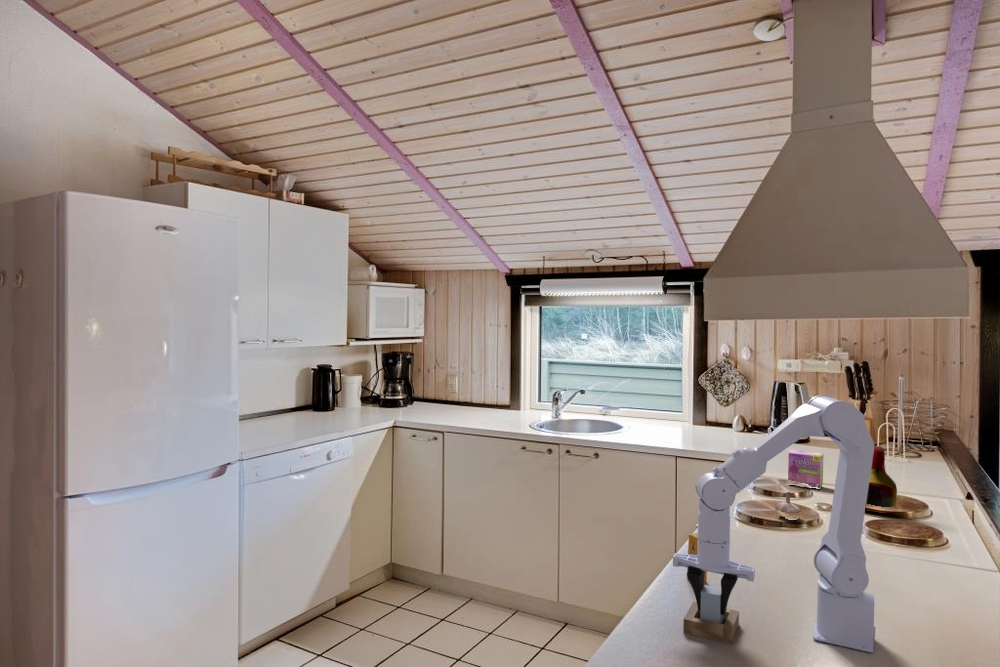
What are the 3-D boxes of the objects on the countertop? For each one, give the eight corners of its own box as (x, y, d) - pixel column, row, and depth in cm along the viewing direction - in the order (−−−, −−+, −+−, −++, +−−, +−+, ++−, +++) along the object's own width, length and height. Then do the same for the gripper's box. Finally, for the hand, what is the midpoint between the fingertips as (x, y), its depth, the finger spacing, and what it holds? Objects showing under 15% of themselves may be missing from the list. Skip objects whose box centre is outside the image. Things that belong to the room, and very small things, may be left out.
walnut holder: (738, 624, 124) (739, 611, 124) (731, 643, 116) (731, 630, 116) (693, 613, 128) (693, 601, 128) (683, 632, 120) (683, 618, 120)
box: (787, 485, 227) (788, 452, 227) (790, 482, 232) (791, 449, 231) (820, 490, 221) (821, 456, 221) (822, 487, 226) (823, 453, 225)
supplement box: (708, 581, 143) (709, 536, 143) (696, 584, 142) (697, 538, 142) (698, 576, 146) (699, 532, 146) (685, 578, 145) (686, 534, 145)
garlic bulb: (775, 513, 194) (776, 487, 194) (802, 517, 191) (803, 490, 191) (774, 520, 188) (774, 493, 187) (802, 524, 184) (802, 496, 184)
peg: (722, 620, 123) (723, 588, 123) (719, 627, 120) (720, 595, 119) (703, 615, 124) (704, 584, 124) (700, 623, 121) (700, 591, 121)
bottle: (897, 513, 196) (899, 447, 196) (894, 518, 191) (896, 450, 191) (853, 505, 204) (855, 442, 203) (848, 510, 199) (850, 445, 198)
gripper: (757, 539, 122) (755, 610, 122) (679, 526, 128) (677, 593, 129) (752, 550, 115) (750, 626, 116) (670, 536, 122) (669, 607, 123)
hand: (711, 610), depth 122 cm, fingers closed on peg, 3 cm apart
